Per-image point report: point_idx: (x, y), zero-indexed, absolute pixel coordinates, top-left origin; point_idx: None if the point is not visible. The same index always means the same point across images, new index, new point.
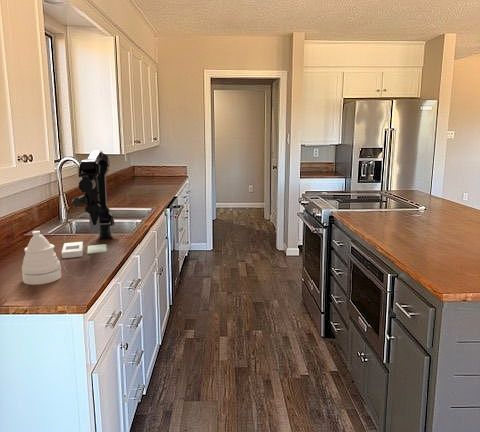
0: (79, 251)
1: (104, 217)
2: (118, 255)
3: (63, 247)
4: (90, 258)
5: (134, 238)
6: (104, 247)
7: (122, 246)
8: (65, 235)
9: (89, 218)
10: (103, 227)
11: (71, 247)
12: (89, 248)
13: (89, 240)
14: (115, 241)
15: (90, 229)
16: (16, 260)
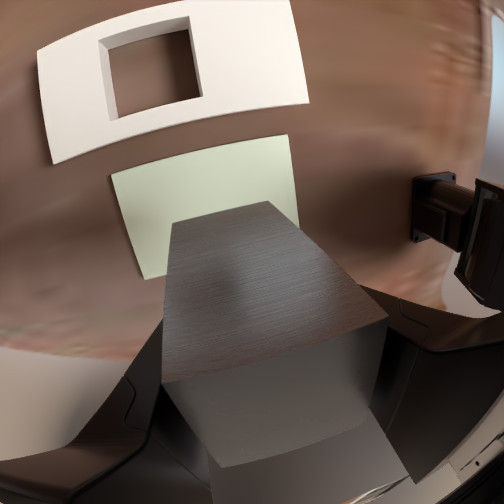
0: (51, 150)
1: (491, 272)
2: (90, 339)
3: (165, 6)
4: (34, 222)
5: None
6: None
7: None
8: (480, 43)
9: (166, 332)
10: (457, 226)
11: (193, 48)
12: (216, 159)
13: (413, 130)
14: (355, 269)
15: (171, 239)
16: None
